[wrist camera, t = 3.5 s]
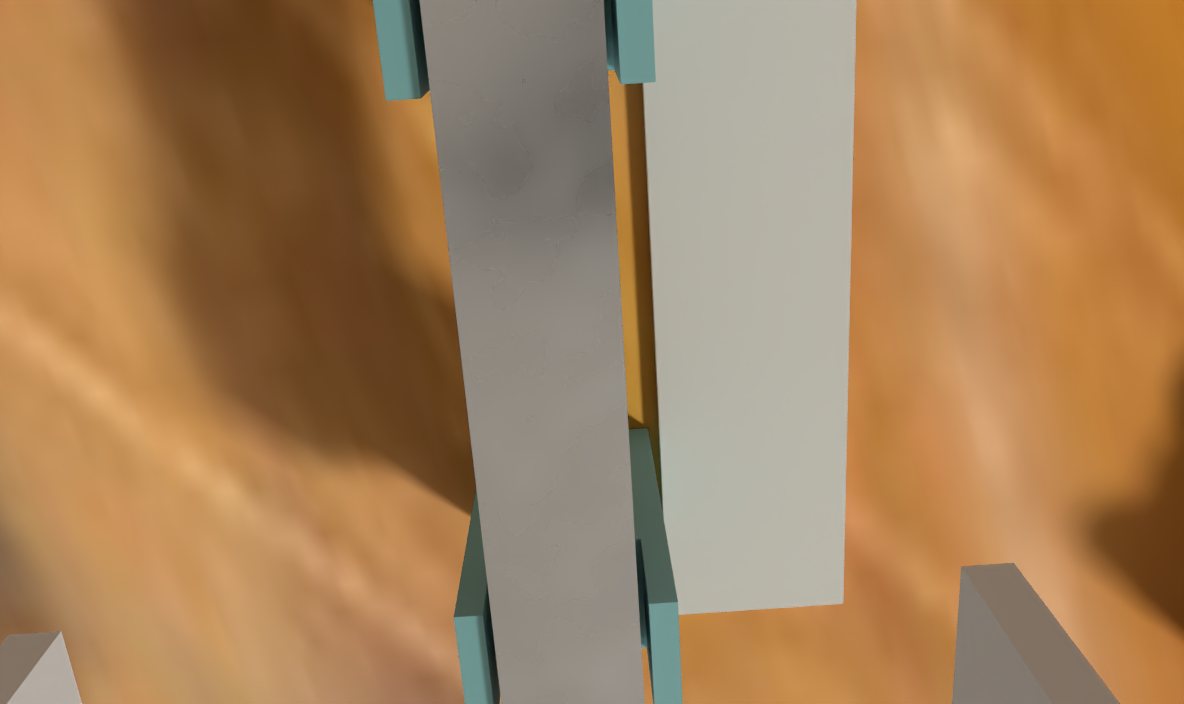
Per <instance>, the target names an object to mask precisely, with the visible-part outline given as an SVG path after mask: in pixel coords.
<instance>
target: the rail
mask: <svg viewBox="0 0 1184 704" xmlns="http://www.w3.org/2000/svg"><path fill="white" fill-rule="evenodd" d="M419 1H420V9H421V18H422V26H423V35H424V43H425V52H426V61H427V69H428V78H429V86H430V95H431V103H432V112H433V121H434V129H435V138H436V146H437V155H438V163H439V172H440V181H441V189H442V198H443V206H444V215H445V224H446V232H447V241H448V249H449V258H450V266H451V275H452V284H453V292H454V301H455V309H456V318H457V326H458V335H459V344H460V352H461V361H462V369H463V378H464V386H465V395H466V404H467V412H468V421H469V429H470V438H471V447H472V455H473V464H474V472H475V481H476V489H477V498H478V507H479V515H480V524H481V532H482V541H483V549H484V558H485V567H486V575H487V584H488V592H489V601H490V609H491V618H492V627H493V635H494V644H495V652H496V661H497V670H498V678H499V687H500V695H501V704H645V703H644V686H643V669H642V652H641V635H640V617H639V600H638V583H637V566H636V549H635V531H634V514H633V497H632V480H631V463H630V445H629V428H628V411H627V394H626V377H625V360H624V342H623V325H622V308H621V291H620V274H619V256H618V239H617V222H616V205H615V188H614V171H613V153H612V136H611V119H610V102H609V85H608V67H607V50H606V33H605V16H604V0H419Z"/></svg>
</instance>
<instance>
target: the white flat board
mask: <svg viewBox="0 0 1184 704" xmlns="http://www.w3.org/2000/svg"><path fill="white" fill-rule="evenodd" d="M652 5H653V29H654V52H655V75H656V82H649V83H642V88H643V109H644V130H645V151H646V172H647V194H648V215H649V236H650V257H651V278H652V300H653V321H654V342H655V363H656V385H657V406H658V427H659V448H660V469H661V491H662V512H663V518H664V524H665V530H666V535H667V541H668V547H669V553H670V559H671V564H672V570H673V576H674V582H675V587H676V593H677V599H678V613H679V615H683V614H698V613H713V612H727V611H742V610H757V609H771V608H786V607H800V606H815V605H830V604H843V587H844V542H845V496H846V451H847V405H848V360H849V315H850V269H851V224H852V178H853V133H854V87H855V42H856V0H652Z"/></svg>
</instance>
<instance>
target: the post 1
mask: <svg viewBox="0 0 1184 704" xmlns="http://www.w3.org/2000/svg"><path fill="white" fill-rule="evenodd" d="M373 6H374V14H375V22H376V29H377V37H378V44H379V52H380V60H381V67H382V75H383V82H384V90H385V98H386V101H390V100H404V99H419V98H422V97H423V96H424V95H425V94H426V93H427V92H428V91H429V90H430V86H429V78H428V69H427V61H426V52H425V43H424V35H423V26H422V18H421V9H420V1H419V0H373ZM604 16H605V33H606V50H607V67H608V70H615V72H616V74H617V76H618V79H619V81H620V83H621V84H635V83H649V82H656V75H655V52H654V29H653V5H652V0H604Z"/></svg>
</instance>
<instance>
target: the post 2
mask: <svg viewBox="0 0 1184 704" xmlns="http://www.w3.org/2000/svg"><path fill="white" fill-rule="evenodd" d="M629 445H630V463H631V480H632V497H633V514H634V531H635V549H636V566H637V583H638V600H639V617H640V635H641V648H646V647H647V653H648V662H649V670H650V679H651V688H652V696H653V704H682V684H681V660H680V637H679V613H678V599H677V593H676V587H675V582H674V576H673V570H672V564H671V559H670V553H669V547H668V541H667V535H666V530H665V524H664V518H663V512H662V506H661V501H660V495H659V489H658V483H657V477H656V472H655V466H654V460H653V454H652V448H651V443H650V437H649V431H648V428H641V429H629ZM454 623H455V630H456V638H457V646H458V653H459V661H460V668H461V676H462V684H463V691H464V699H465V704H499V702H500V687H499V678H498V670H497V661H496V652H495V644H494V635H493V627H492V618H491V609H490V601H489V592H488V584H487V575H486V567H485V558H484V549H483V541H482V532H481V524H480V515H479V507H478V498H477V489H476V492H475V497H474V503H473V509H472V515H471V521H470V526H469V532H468V538H467V544H466V550H465V555H464V561H463V567H462V573H461V579H460V584H459V590H458V596H457V602H456V608H455V613H454Z"/></svg>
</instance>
